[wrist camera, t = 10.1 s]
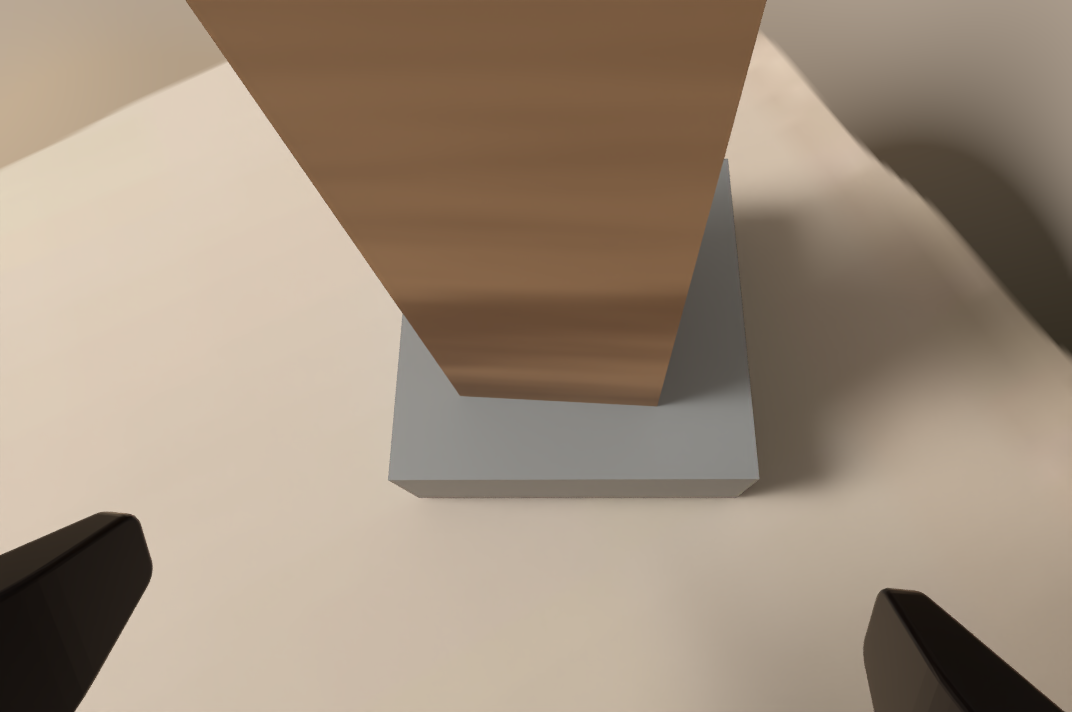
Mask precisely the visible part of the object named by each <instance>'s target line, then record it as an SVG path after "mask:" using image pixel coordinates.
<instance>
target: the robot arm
mask: <svg viewBox="0 0 1072 712" xmlns="http://www.w3.org/2000/svg"><path fill="white" fill-rule="evenodd" d="M152 570H153V565H152V560H151V557H150V553H149V550H148V547H147V543H146V540H145V537H144V533H143V530H142V527H141V524H140V521H139V520H138V519H137V518H136V517H135V516H134V515H131V514H127V513H117V512H100V513H97V514H94V515H92V516H90V517H87V518H85V519H83V520H80V521H78V522H76V523H73V524H71V525H69V526H66V527H64V528H62V529H60V530H57V531H55V532H53V533H50V534H48V535H46V536H43V537H41V538H39V539H36V540H34V541H32V542H29V543H27V544H25V545H23V546H20V547H18V548H16V549H13V550H11V551H9V552H6V553H4V554H2V555H0V712H75V710H76V709H77V707H78V706H79V704H80V703H81V701H82V700H83V698H84V697H85V695H86V693H87V692H88V690H89V688H90V687H91V685H92V683H93V681H94V680H95V678H96V676H97V675H98V673H99V671H100V669H101V668H102V666H103V664H104V662H105V661H106V659H107V657H108V655H109V653H110V652H111V650H112V648H113V646H114V645H115V643H116V641H117V639H118V638H119V636H120V634H121V632H122V630H123V629H124V627H125V625H126V623H127V622H128V620H129V618H130V616H131V615H132V613H133V611H134V609H135V607H136V606H137V604H138V602H139V600H140V599H141V597H142V595H143V593H144V592H145V590H146V588H147V586H148V584H149V582H150V579H151V576H152ZM863 655H864V664H865V669H866V674H867V679H868V683H869V688H870V693H871V698H872V703H873V708H874V712H1064V711H1063V710H1062V709H1061V708H1059V707H1058V706H1057V705H1056V704H1055V703H1054V702H1052V701H1051V700H1050V699H1049V698H1048V697H1046V696H1045V695H1044V694H1043V693H1042V692H1041V691H1039V690H1038V689H1037V688H1036V687H1035V686H1033V685H1032V684H1031V683H1030V682H1029V681H1027V680H1026V679H1025V678H1024V677H1023V676H1022V675H1020V674H1019V673H1018V672H1017V671H1016V670H1014V669H1013V668H1012V667H1011V666H1010V665H1009V664H1007V663H1006V662H1005V661H1004V660H1003V659H1001V658H1000V657H999V656H998V655H997V654H995V653H994V652H993V651H992V650H991V649H990V648H988V647H987V646H986V645H985V644H984V643H982V642H981V641H980V640H979V639H978V638H977V637H975V636H974V635H973V634H972V633H971V632H969V631H968V630H967V629H966V628H965V627H963V626H962V625H961V624H960V623H959V622H958V621H956V620H955V619H954V618H953V617H952V616H950V615H949V614H948V613H947V612H946V611H945V610H943V609H942V608H941V607H940V606H939V605H937V604H936V603H935V602H934V601H933V600H931V599H930V598H929V597H928V596H926V595H925V594H923V593H921V592H919V591H914V590H903V589H893V588H886V589H883V590H881V591H880V592H879V594H878V596H877V598H876V601H875V605H874V608H873V612H872V615H871V619H870V622H869V626H868V629H867V633H866V636H865V640H864V647H863Z"/></svg>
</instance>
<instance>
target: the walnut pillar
mask: <svg viewBox="0 0 1072 712" xmlns="http://www.w3.org/2000/svg"><path fill="white" fill-rule="evenodd" d="M766 1H767V0H186V2H187V3H188V5H189V6H190V7H191V9H192V10H193V12H194V13H195V15H196V16H197V17H198V19H199V20H200V22H201V23H202V25H203V26H204V28H205V29H206V30H207V32H208V33H209V35H210V36H211V38H212V39H213V41H214V42H215V43H216V45H217V46H218V48H219V49H220V50H221V52H222V54H223V55H224V56H225V58H226V59H227V61H228V62H229V64H230V65H231V67H232V68H233V69H234V71H235V72H236V74H237V75H238V77H239V78H240V79H241V81H242V82H243V84H244V85H245V87H246V88H247V90H248V91H249V92H250V94H251V95H252V97H253V98H254V100H255V101H256V103H257V104H258V105H259V107H260V108H261V110H262V111H263V113H264V114H265V116H266V117H267V118H268V120H269V121H270V123H271V124H272V126H273V127H274V128H275V130H276V131H277V133H278V134H279V136H280V137H281V139H282V140H283V141H284V143H285V144H286V146H287V147H288V149H289V150H290V152H291V153H292V154H293V156H294V157H295V159H296V160H297V162H298V163H299V165H300V166H301V167H302V169H303V170H304V172H305V173H306V175H307V176H308V177H309V179H310V180H311V182H312V183H313V185H314V186H315V188H316V189H317V190H318V192H319V193H320V195H321V196H322V198H323V199H324V201H325V202H326V203H327V205H328V206H329V208H330V209H331V211H332V212H333V214H334V215H335V216H336V218H337V219H338V221H339V222H340V224H341V225H342V227H343V228H344V229H345V231H346V232H347V234H348V235H349V237H350V238H351V239H352V241H353V242H354V244H355V245H356V247H357V248H358V250H359V251H360V252H361V254H362V255H363V257H364V258H365V260H366V261H367V263H368V264H369V265H370V267H371V268H372V270H373V271H374V273H375V274H376V276H377V277H378V278H379V280H380V281H381V283H382V284H383V286H384V287H385V288H386V290H387V291H388V293H389V294H390V296H391V297H392V299H393V300H394V301H395V303H396V304H397V306H398V307H399V309H400V310H401V312H402V313H403V314H404V316H405V317H406V319H407V320H408V322H409V323H410V325H411V326H412V327H413V329H414V330H415V332H416V333H417V335H418V336H419V337H420V339H421V340H422V342H423V343H424V345H425V346H426V348H427V349H428V350H429V352H430V353H431V355H432V356H433V358H434V359H435V361H436V362H437V363H438V365H439V366H440V368H441V369H442V371H443V372H444V374H445V375H446V376H447V378H448V379H449V381H450V382H451V384H452V385H453V387H454V388H455V389H456V391H457V392H458V394H459V395H460V396H467V397H486V398H505V399H524V400H543V401H562V402H581V403H600V404H619V405H638V406H657V405H658V402H659V398H660V394H661V390H662V387H663V383H664V379H665V376H666V372H667V368H668V364H669V361H670V357H671V353H672V350H673V346H674V342H675V338H676V335H677V331H678V327H679V324H680V320H681V316H682V312H683V309H684V305H685V301H686V298H687V294H688V290H689V287H690V283H691V279H692V275H693V272H694V268H695V264H696V261H697V257H698V253H699V249H700V246H701V242H702V238H703V235H704V231H705V227H706V223H707V220H708V216H709V212H710V209H711V205H712V201H713V197H714V194H715V190H716V186H717V183H718V179H719V175H720V171H721V168H722V164H723V160H724V157H725V153H726V149H727V145H728V142H729V138H730V134H731V131H732V127H733V123H734V119H735V116H736V112H737V108H738V105H739V101H740V97H741V93H742V90H743V86H744V82H745V79H746V75H747V71H748V67H749V64H750V60H751V56H752V53H753V49H754V45H755V41H756V38H757V34H758V30H759V27H760V23H761V19H762V15H763V12H764V8H765V4H766Z"/></svg>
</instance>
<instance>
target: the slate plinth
mask: <svg viewBox="0 0 1072 712" xmlns="http://www.w3.org/2000/svg"><path fill="white" fill-rule="evenodd" d="M388 480H389V481H391V482H392V483H394V484H396V485H398V486H399V487H401V488H403V489H405V490H406V491H408V492H410V493H412V494H413V495H415V496H417V497H419V498H736V497H738V496H739V495H740V494H741V493H743V492H744V491H745V490H746V489H748V488H749V487H750V486H751V485H753V484H754V483H755V482H756V481H758V480H759V469H758V459H757V449H756V439H755V429H754V418H753V408H752V398H751V388H750V378H749V368H748V358H747V347H746V337H745V327H744V317H743V307H742V297H741V287H740V277H739V266H738V256H737V246H736V236H735V226H734V216H733V206H732V195H731V185H730V175H729V165H728V159H724V160H723V164H722V168H721V171H720V175H719V179H718V183H717V186H716V190H715V194H714V197H713V201H712V205H711V209H710V212H709V216H708V220H707V223H706V227H705V231H704V235H703V238H702V242H701V246H700V249H699V253H698V257H697V261H696V264H695V268H694V272H693V275H692V279H691V283H690V287H689V290H688V294H687V298H686V301H685V305H684V309H683V312H682V316H681V320H680V324H679V327H678V331H677V335H676V338H675V342H674V346H673V350H672V353H671V357H670V361H669V364H668V368H667V372H666V376H665V379H664V383H663V387H662V390H661V394H660V398H659V402H658V405H657V406H638V405H619V404H600V403H581V402H562V401H543V400H524V399H505V398H486V397H467V396H460V395H459V394H458V392H457V391H456V389H455V388H454V387H453V385H452V384H451V382H450V381H449V379H448V378H447V376H446V375H445V374H444V372H443V371H442V369H441V368H440V366H439V365H438V363H437V362H436V361H435V359H434V358H433V356H432V355H431V353H430V352H429V350H428V349H427V348H426V346H425V345H424V343H423V342H422V340H421V339H420V337H419V336H418V335H417V333H416V332H415V330H414V329H413V327H412V326H411V325H410V323H409V322H408V320H407V319H406V317H405V316H404V314H403V315H402V326H401V338H400V349H399V361H398V372H397V384H396V395H395V407H394V418H393V430H392V441H391V453H390V464H389V476H388Z"/></svg>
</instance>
